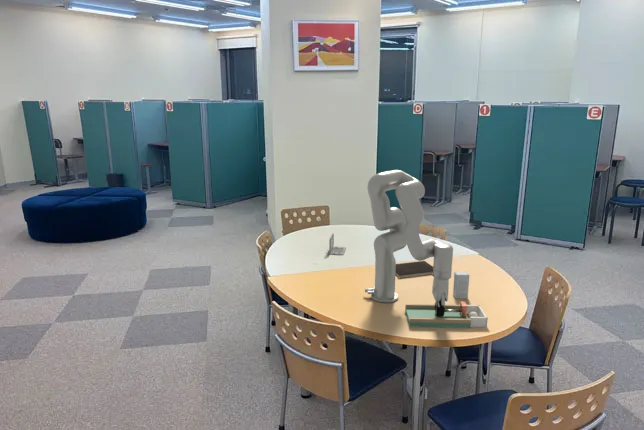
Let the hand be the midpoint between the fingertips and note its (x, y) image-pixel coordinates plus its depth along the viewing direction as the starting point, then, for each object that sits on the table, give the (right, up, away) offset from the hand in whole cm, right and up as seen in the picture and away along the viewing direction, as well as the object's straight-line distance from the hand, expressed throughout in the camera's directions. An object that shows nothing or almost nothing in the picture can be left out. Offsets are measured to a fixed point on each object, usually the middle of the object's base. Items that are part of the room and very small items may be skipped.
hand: (439, 312), depth 198 cm
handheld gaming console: (-41, +19, +86) cm, 97 cm away
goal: (+15, -3, 0) cm, 15 cm away
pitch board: (-1, -3, +1) cm, 3 cm away
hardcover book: (-1, +11, +55) cm, 56 cm away
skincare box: (+15, +3, +22) cm, 27 cm away
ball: (+14, -1, 0) cm, 15 cm away
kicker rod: (+5, -1, 0) cm, 5 cm away
